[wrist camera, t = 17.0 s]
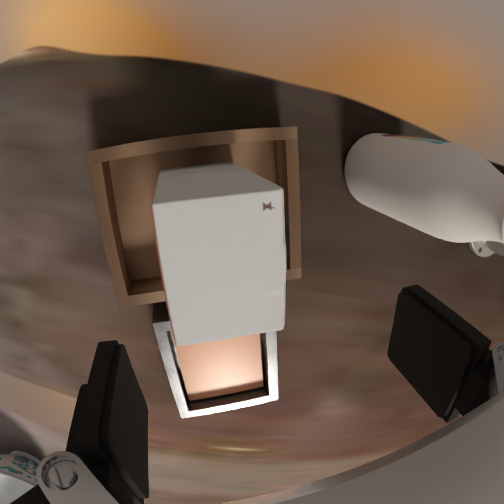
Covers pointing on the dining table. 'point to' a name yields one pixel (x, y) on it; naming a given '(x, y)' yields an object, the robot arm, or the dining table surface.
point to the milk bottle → (428, 186)
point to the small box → (220, 251)
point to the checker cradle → (222, 401)
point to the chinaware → (17, 475)
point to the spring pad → (221, 366)
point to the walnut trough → (143, 187)
